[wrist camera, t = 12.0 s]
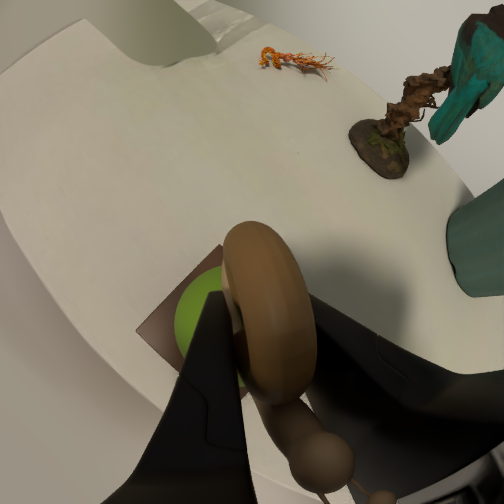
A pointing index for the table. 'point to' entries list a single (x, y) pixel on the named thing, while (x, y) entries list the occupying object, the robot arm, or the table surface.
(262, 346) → the snail figurine
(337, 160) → the table surface
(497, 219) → the flower pot
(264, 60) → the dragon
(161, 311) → the riser
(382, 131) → the sculpture
